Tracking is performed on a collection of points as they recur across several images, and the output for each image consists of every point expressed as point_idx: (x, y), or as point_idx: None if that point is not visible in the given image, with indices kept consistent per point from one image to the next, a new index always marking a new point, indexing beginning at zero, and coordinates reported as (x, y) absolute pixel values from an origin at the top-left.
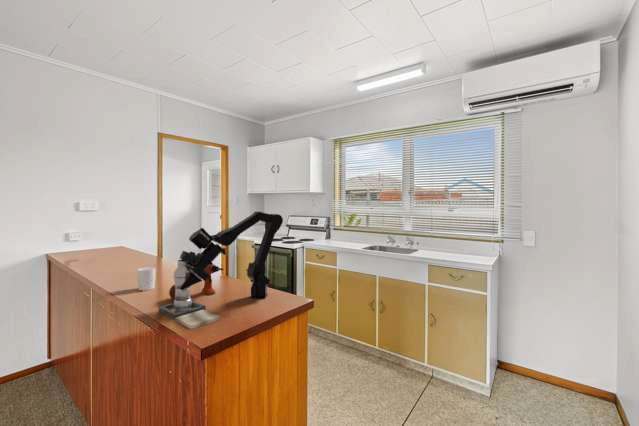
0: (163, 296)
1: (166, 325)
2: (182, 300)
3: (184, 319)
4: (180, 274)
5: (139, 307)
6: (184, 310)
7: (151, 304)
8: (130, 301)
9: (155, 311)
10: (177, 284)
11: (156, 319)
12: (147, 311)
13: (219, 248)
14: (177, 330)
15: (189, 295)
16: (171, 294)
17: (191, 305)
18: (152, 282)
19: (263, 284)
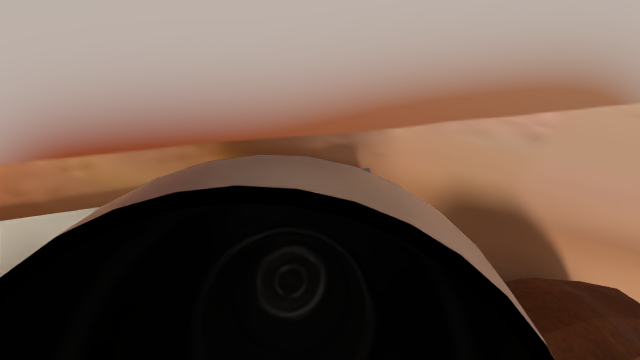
0: (629, 270)
1: (148, 152)
2: (234, 270)
3: None
4: (52, 264)
5: (484, 126)
6: (242, 276)
7: (505, 180)
8: (598, 117)
9: (382, 166)
10: (235, 229)
11: (262, 140)
12: (404, 138)
13: None
14: (41, 171)
15: (234, 343)
16: (532, 280)
17: (257, 336)
18: None
19: None
